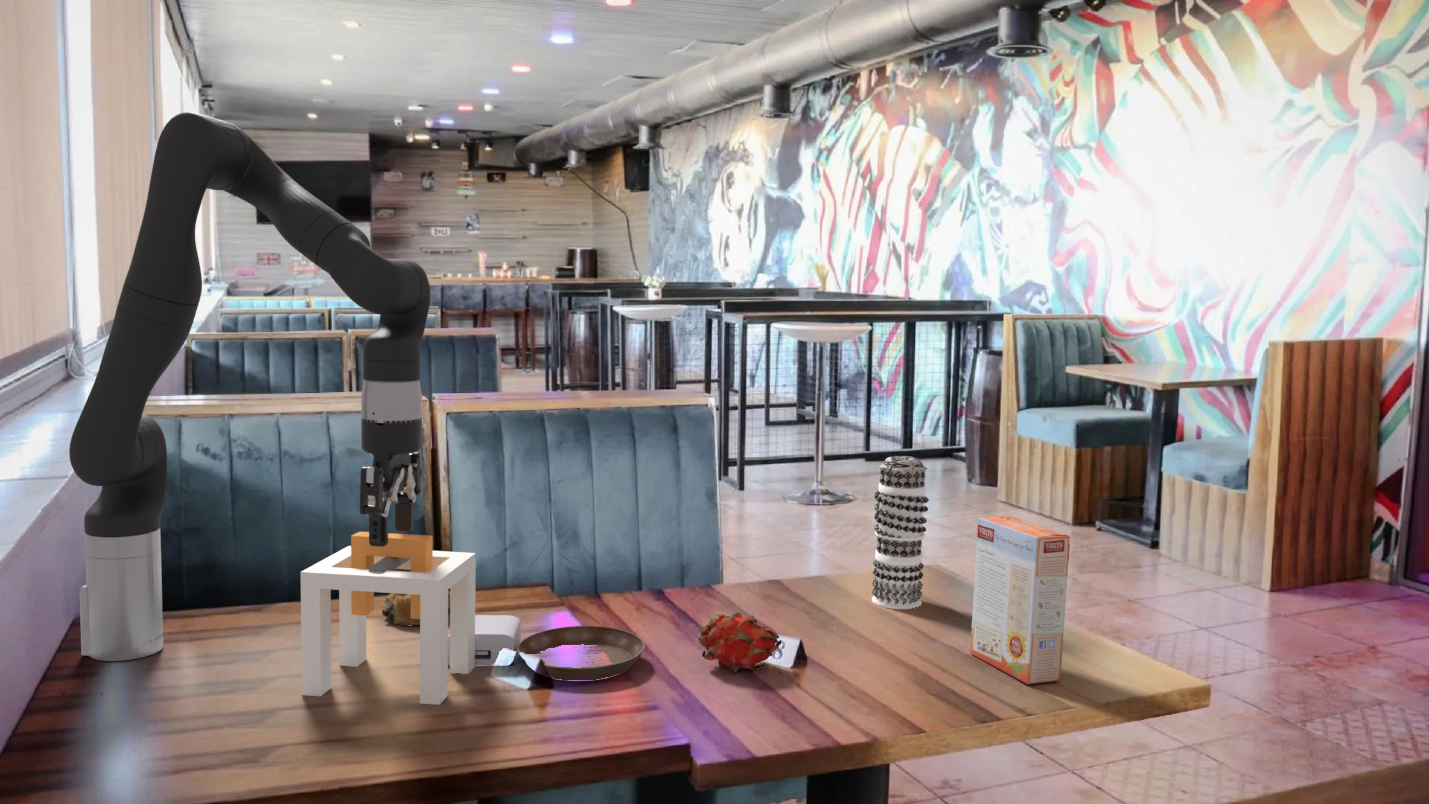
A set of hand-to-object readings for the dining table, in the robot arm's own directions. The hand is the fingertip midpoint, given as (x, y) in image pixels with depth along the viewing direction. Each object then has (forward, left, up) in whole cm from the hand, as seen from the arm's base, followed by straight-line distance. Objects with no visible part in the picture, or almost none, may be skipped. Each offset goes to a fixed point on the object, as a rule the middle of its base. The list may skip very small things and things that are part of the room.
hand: (391, 537), depth 145 cm
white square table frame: (0, 0, -19) cm, 19 cm away
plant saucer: (+23, +11, -20) cm, 32 cm away
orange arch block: (0, 0, -10) cm, 10 cm away
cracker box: (+84, +21, -19) cm, 89 cm away
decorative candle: (+69, +51, -19) cm, 88 cm away
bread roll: (-7, +27, -20) cm, 34 cm away
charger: (+8, +15, -20) cm, 26 cm away
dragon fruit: (+45, +14, -20) cm, 51 cm away
